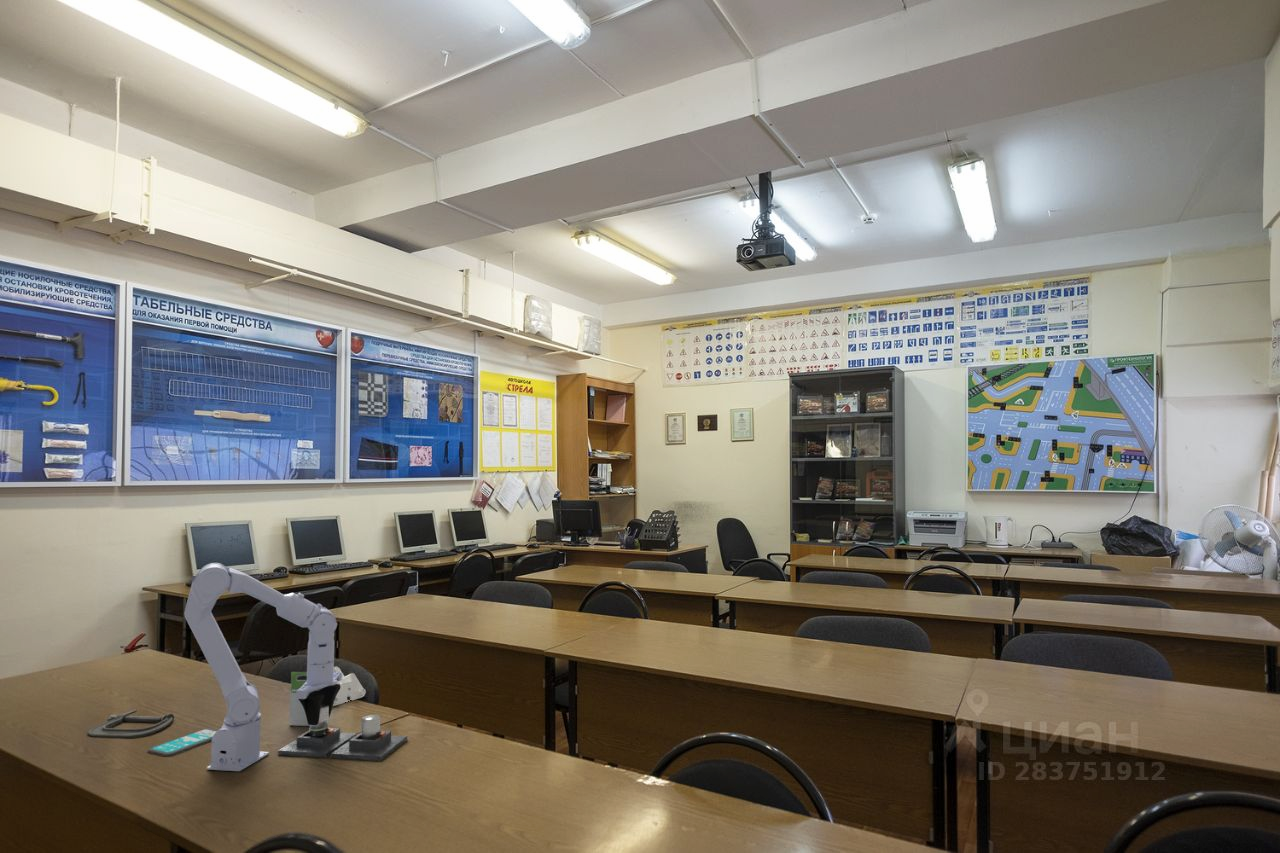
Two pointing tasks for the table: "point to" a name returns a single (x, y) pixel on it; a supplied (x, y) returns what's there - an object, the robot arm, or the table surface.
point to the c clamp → (114, 720)
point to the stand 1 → (317, 744)
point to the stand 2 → (369, 747)
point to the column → (370, 727)
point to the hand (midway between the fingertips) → (319, 721)
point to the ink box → (297, 701)
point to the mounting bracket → (353, 691)
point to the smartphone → (184, 743)
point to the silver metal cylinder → (321, 722)
